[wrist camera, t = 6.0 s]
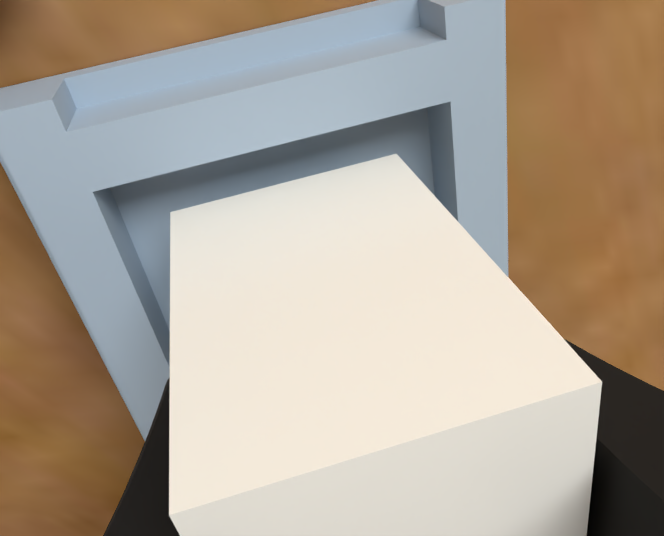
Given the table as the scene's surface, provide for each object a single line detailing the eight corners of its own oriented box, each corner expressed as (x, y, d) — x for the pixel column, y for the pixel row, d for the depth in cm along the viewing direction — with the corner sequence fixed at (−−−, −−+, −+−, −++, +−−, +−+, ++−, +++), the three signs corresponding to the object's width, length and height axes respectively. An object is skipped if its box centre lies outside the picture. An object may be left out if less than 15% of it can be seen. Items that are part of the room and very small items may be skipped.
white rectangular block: (245, 416, 13) (291, 744, 8) (170, 212, 10) (169, 514, 5) (422, 364, 13) (575, 645, 8) (396, 153, 10) (602, 382, 5)
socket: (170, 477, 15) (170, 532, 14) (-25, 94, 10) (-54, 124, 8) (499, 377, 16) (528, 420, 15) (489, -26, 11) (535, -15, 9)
